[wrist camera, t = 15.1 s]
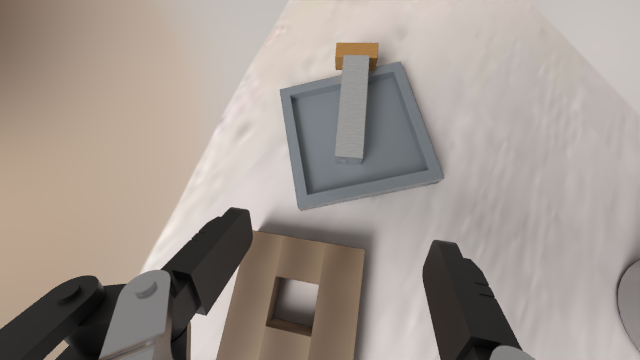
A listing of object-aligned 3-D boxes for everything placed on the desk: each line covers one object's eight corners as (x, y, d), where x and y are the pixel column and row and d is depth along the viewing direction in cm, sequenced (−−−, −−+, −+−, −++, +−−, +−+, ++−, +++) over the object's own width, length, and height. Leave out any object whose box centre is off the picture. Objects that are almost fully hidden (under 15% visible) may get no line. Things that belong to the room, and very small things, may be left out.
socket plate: (363, 249, 20) (365, 249, 18) (348, 384, 17) (348, 401, 15) (257, 231, 21) (248, 229, 19) (228, 352, 19) (214, 364, 17)
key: (368, 165, 21) (375, 58, 24) (372, 158, 19) (378, 40, 21) (327, 162, 22) (337, 58, 24) (325, 155, 19) (336, 40, 22)
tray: (397, 72, 25) (400, 61, 23) (437, 182, 21) (444, 177, 19) (283, 98, 25) (279, 89, 24) (301, 210, 21) (298, 208, 20)
